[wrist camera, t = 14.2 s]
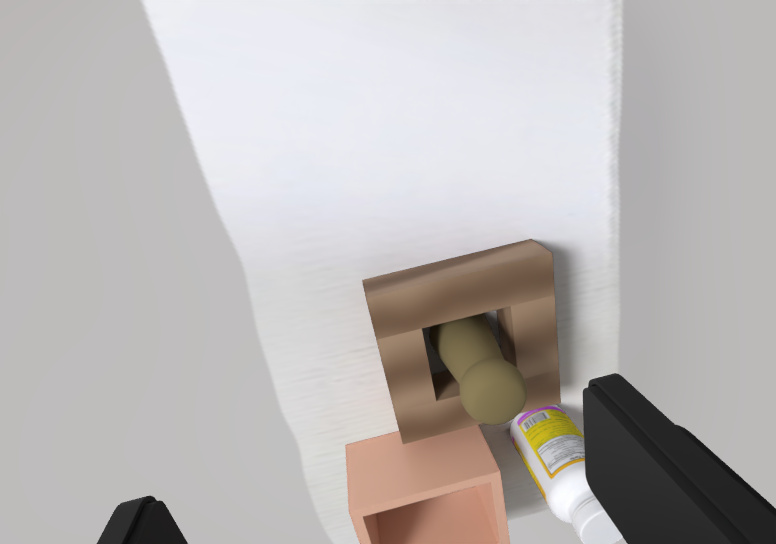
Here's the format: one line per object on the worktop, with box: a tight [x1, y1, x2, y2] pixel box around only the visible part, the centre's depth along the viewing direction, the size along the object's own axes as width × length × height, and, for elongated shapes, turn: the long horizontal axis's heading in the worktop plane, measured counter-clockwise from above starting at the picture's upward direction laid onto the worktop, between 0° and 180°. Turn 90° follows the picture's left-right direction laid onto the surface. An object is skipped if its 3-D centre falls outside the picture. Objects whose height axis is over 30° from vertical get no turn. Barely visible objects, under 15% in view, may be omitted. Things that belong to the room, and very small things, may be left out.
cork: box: [429, 313, 528, 425], centre depth 36 cm, size 6×6×11 cm
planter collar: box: [345, 425, 510, 544], centre depth 44 cm, size 12×14×8 cm
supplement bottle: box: [510, 404, 623, 544], centre depth 41 cm, size 7×7×13 cm
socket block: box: [362, 239, 561, 444], centre depth 40 cm, size 16×16×4 cm
